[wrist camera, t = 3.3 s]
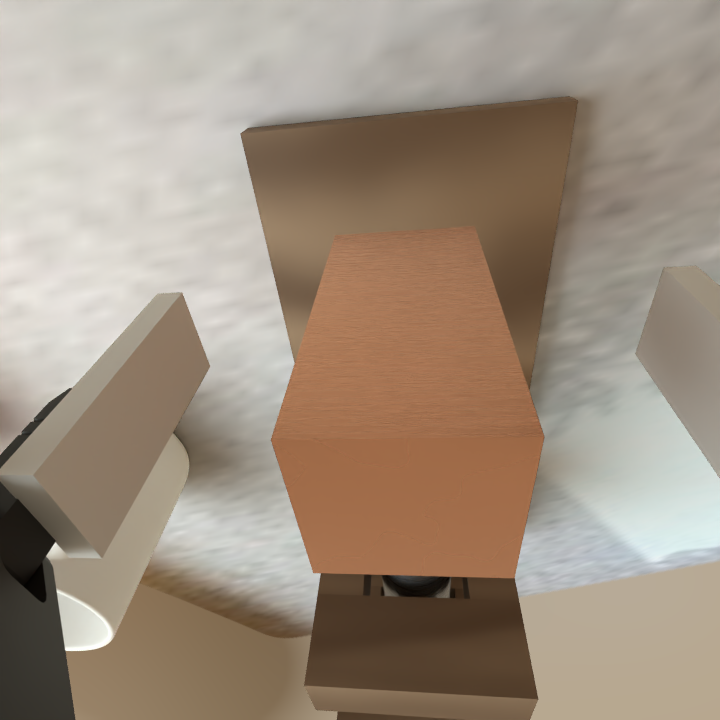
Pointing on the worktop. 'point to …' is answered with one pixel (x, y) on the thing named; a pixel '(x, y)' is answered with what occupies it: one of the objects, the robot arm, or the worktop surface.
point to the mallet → (409, 416)
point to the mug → (117, 558)
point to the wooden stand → (523, 316)
